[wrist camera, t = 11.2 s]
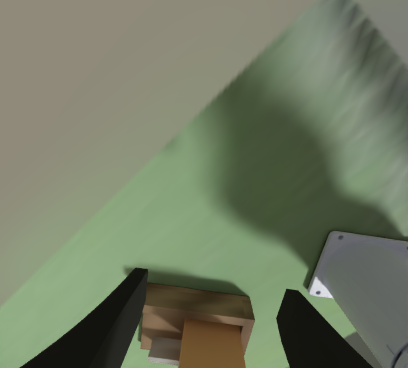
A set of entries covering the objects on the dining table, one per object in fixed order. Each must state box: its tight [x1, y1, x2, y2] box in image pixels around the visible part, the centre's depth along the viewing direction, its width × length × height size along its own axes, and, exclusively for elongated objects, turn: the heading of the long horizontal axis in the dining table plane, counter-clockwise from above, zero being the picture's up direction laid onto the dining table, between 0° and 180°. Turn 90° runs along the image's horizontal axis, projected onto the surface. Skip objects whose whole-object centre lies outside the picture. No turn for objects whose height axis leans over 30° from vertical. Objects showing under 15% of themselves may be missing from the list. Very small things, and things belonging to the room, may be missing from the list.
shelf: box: [141, 283, 255, 366], centre depth 23 cm, size 12×10×3 cm
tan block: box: [178, 318, 246, 368], centre depth 20 cm, size 6×4×6 cm, turn 82°
